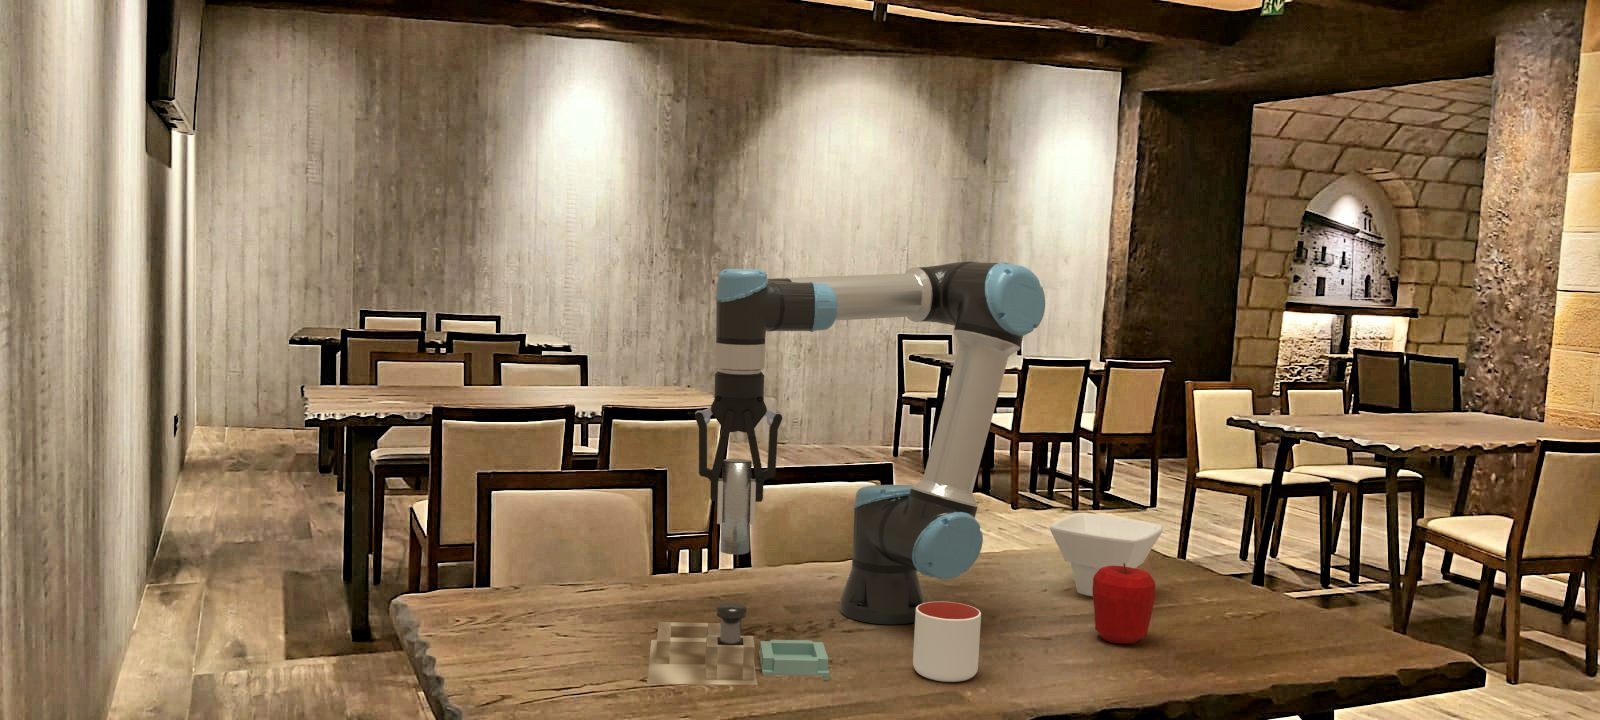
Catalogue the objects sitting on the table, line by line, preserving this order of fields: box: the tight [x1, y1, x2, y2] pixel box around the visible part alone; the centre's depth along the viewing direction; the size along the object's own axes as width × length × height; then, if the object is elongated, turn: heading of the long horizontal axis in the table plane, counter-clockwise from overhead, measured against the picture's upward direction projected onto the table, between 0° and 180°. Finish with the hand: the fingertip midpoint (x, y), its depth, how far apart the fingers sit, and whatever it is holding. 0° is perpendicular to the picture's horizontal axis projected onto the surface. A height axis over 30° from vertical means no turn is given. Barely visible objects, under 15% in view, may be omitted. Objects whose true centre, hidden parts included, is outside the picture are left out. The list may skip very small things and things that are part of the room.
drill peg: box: [719, 458, 753, 556], centre depth 196 cm, size 4×4×14 cm
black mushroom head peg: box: [716, 602, 747, 645], centre depth 190 cm, size 4×4×9 cm
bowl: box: [1049, 512, 1164, 597], centre depth 247 cm, size 19×19×14 cm
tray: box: [758, 639, 830, 681], centre depth 197 cm, size 10×10×3 cm
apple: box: [1092, 563, 1156, 644], centre depth 218 cm, size 10×10×14 cm
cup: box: [912, 601, 982, 683], centre depth 198 cm, size 10×10×10 cm
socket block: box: [646, 621, 758, 686], centre depth 196 cm, size 16×20×6 cm
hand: (735, 521), depth 197 cm, fingers closed on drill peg, 4 cm apart
